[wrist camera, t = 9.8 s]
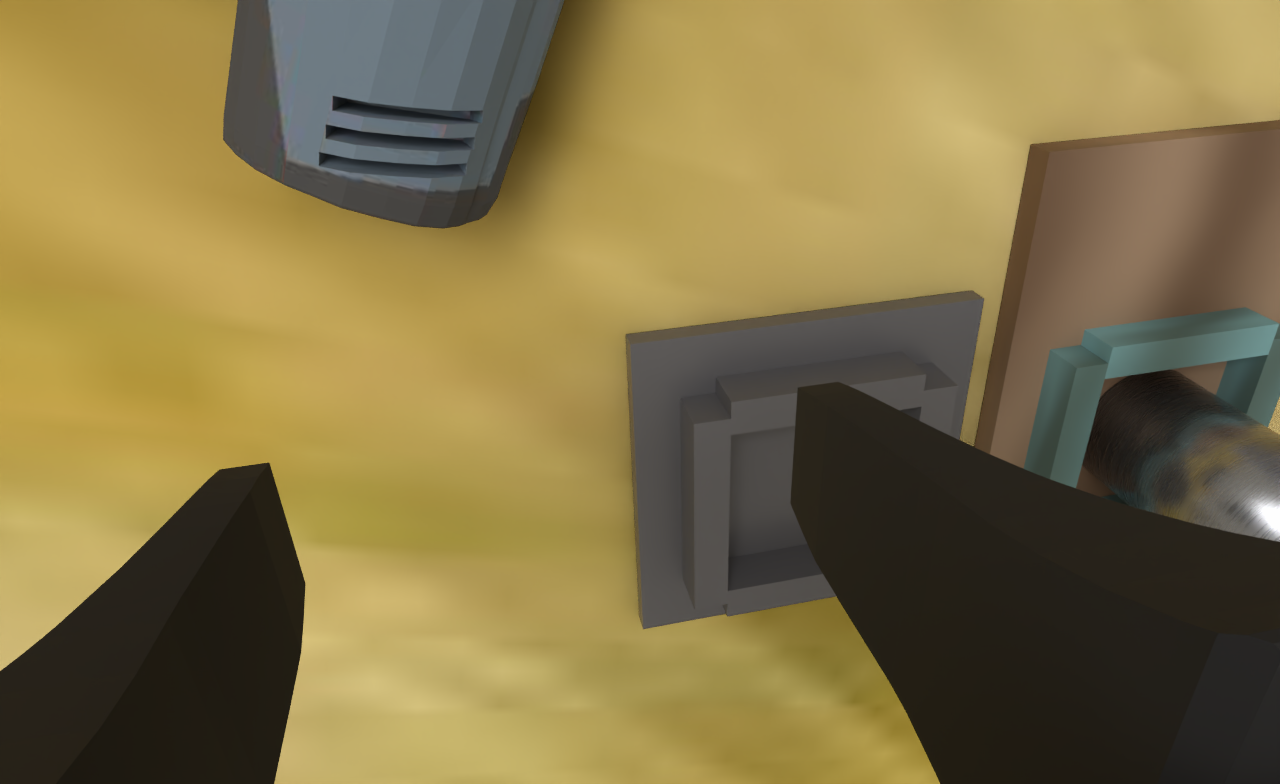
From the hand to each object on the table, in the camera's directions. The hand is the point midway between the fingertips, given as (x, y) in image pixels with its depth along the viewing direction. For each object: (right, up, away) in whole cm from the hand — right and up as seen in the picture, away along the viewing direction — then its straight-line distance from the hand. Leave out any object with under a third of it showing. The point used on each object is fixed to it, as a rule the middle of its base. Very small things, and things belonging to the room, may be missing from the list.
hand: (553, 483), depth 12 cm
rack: (+17, +1, +16) cm, 23 cm away
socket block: (+6, -1, +14) cm, 15 cm away
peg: (+17, 0, +15) cm, 23 cm away
